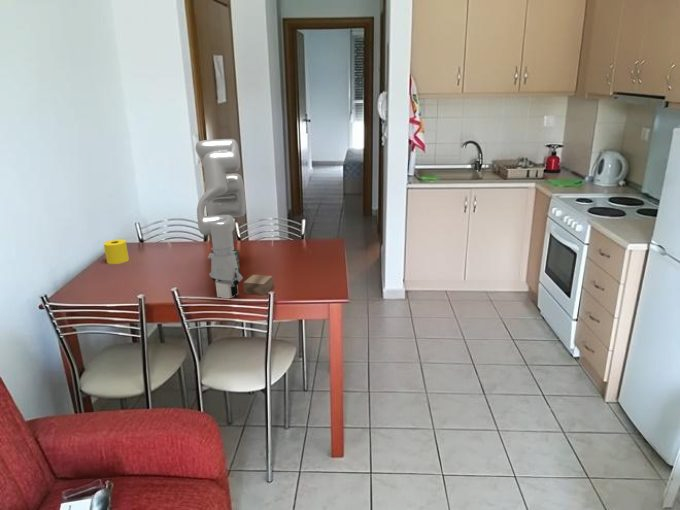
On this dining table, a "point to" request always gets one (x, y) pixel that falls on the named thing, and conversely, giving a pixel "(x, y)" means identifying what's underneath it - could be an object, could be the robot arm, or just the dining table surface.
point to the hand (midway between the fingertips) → (227, 293)
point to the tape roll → (116, 251)
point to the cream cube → (224, 289)
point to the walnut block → (258, 284)
